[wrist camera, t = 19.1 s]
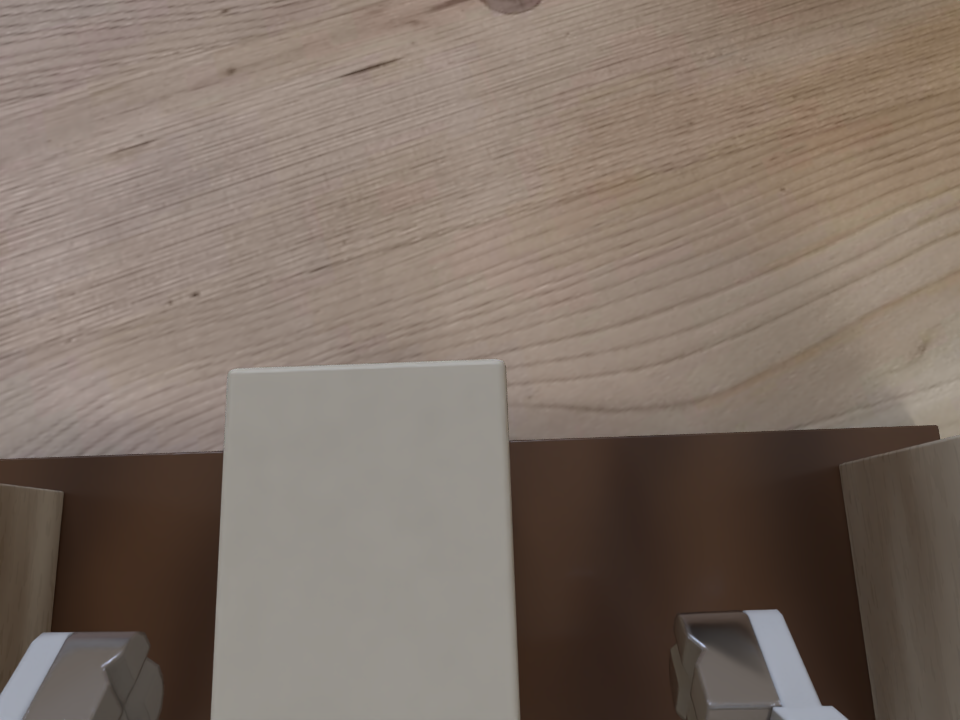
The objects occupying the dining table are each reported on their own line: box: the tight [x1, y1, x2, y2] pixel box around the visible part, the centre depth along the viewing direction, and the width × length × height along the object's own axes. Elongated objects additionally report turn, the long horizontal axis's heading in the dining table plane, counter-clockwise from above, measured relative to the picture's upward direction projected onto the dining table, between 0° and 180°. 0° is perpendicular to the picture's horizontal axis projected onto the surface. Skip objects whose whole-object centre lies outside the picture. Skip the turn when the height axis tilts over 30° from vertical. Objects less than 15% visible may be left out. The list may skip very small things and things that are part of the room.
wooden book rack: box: [0, 425, 960, 720], centre depth 15 cm, size 28×10×14 cm, turn 92°
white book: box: [211, 359, 520, 720], centre depth 14 cm, size 3×8×14 cm, turn 2°
